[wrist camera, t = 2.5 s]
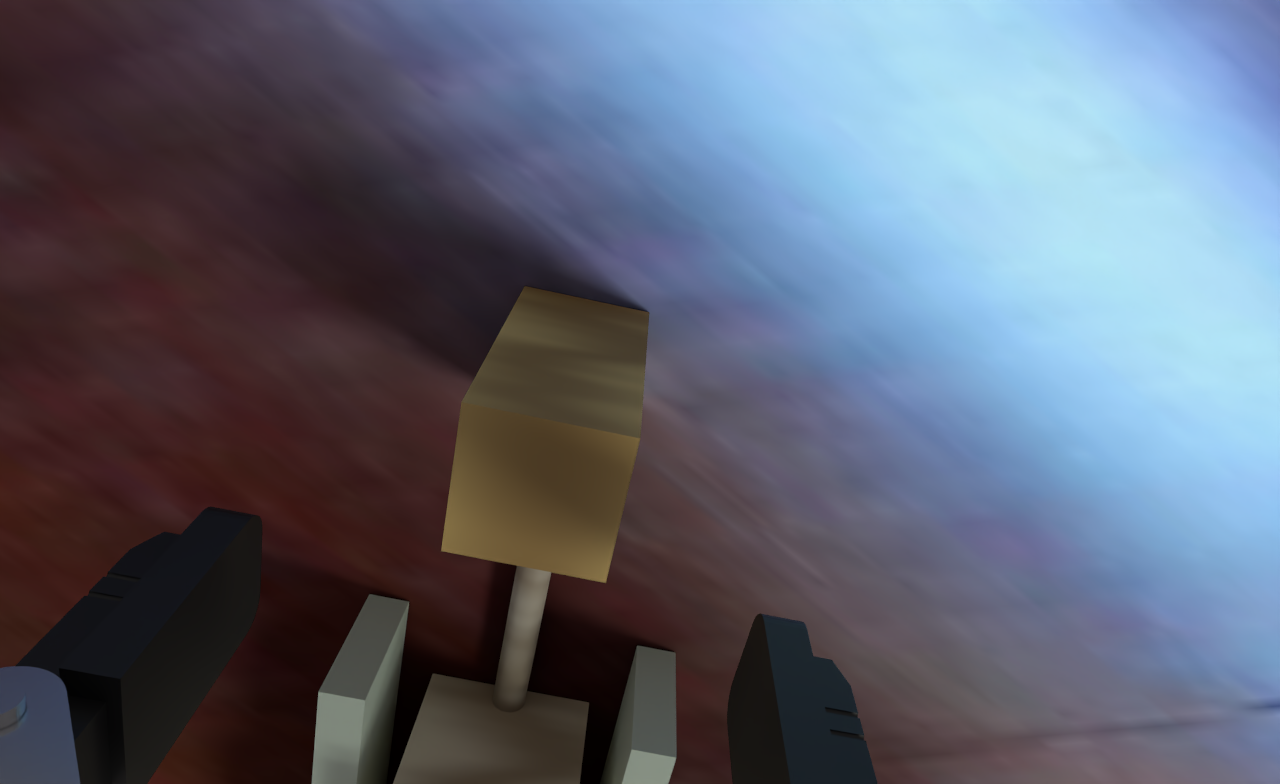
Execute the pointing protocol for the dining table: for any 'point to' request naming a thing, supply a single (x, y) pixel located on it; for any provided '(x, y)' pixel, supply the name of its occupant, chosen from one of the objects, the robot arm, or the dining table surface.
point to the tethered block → (534, 524)
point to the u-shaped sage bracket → (368, 691)
